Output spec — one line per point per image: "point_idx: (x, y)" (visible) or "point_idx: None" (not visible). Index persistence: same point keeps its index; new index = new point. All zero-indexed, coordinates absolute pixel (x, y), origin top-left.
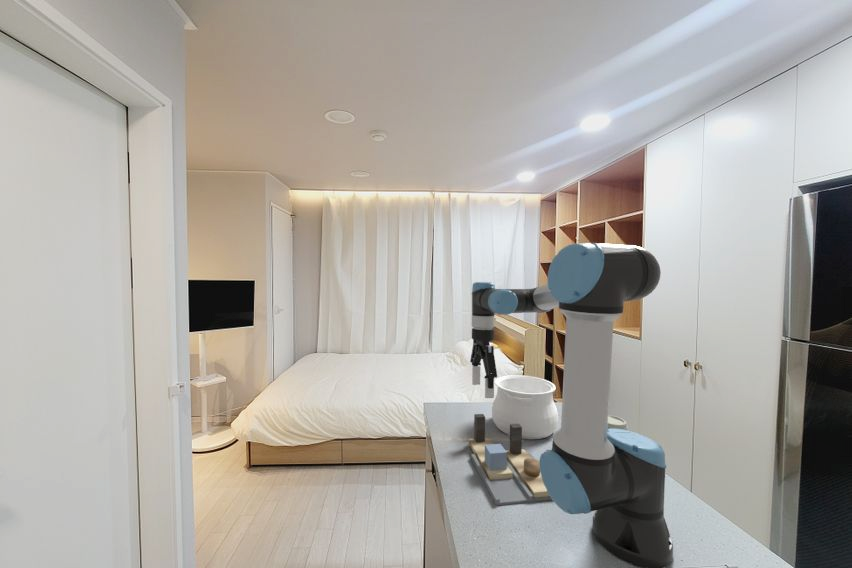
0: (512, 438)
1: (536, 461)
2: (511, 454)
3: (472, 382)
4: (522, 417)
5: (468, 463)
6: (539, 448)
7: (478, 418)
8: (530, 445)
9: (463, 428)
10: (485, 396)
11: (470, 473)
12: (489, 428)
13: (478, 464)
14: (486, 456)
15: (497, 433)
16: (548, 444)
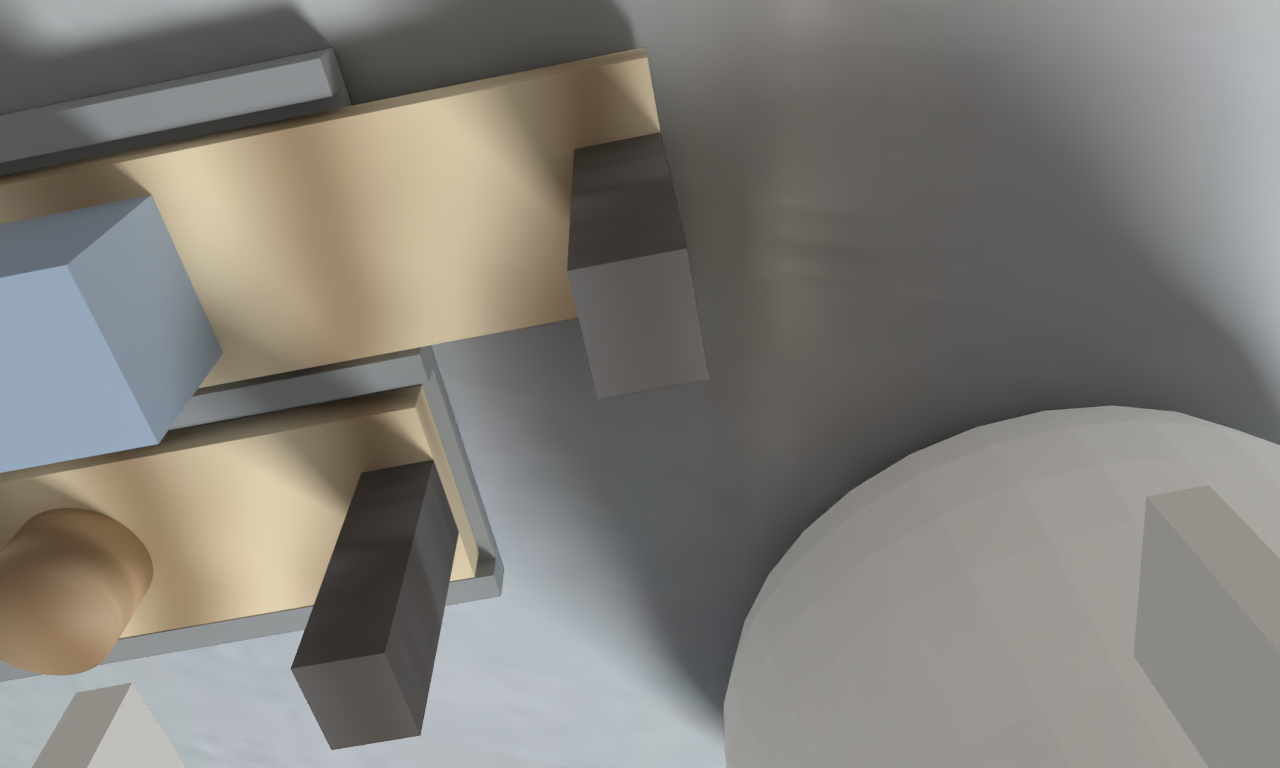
0: (330, 572)
1: (66, 656)
2: (357, 464)
3: (1223, 523)
4: (780, 752)
5: (227, 5)
6: (615, 662)
7: (572, 292)
8: (663, 614)
9: (1090, 14)
10: (76, 721)
11: (28, 9)
12: (1037, 329)
13: (111, 119)
14: (50, 237)
15: (909, 392)
16: (684, 729)
